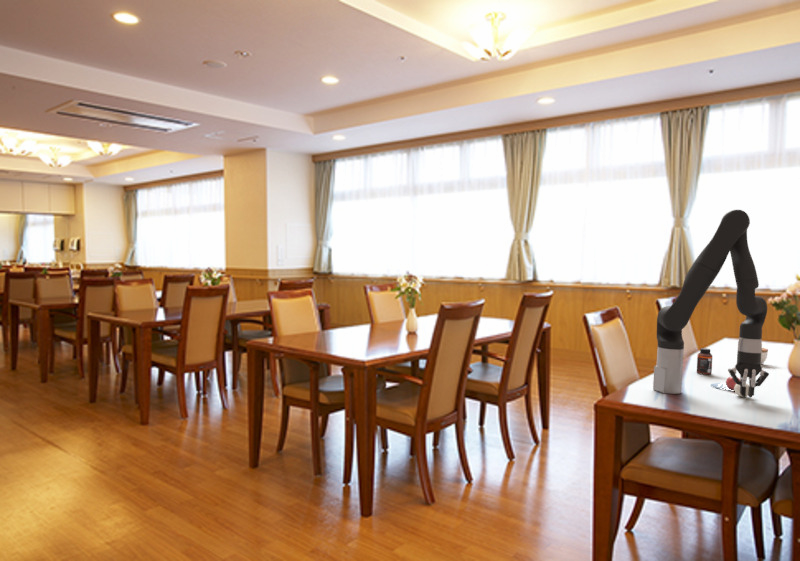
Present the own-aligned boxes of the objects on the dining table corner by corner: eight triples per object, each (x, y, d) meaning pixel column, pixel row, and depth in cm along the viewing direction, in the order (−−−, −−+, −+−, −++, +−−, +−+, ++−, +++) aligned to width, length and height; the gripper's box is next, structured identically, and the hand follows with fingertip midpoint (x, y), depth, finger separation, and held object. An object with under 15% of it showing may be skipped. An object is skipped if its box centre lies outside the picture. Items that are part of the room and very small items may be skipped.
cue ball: (738, 378, 215) (736, 390, 216) (732, 383, 211) (730, 396, 213) (754, 382, 211) (752, 395, 212) (748, 388, 207) (746, 401, 209)
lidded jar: (746, 360, 286) (747, 342, 285) (770, 364, 278) (771, 345, 277) (738, 362, 279) (739, 344, 278) (762, 366, 271) (763, 347, 270)
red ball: (733, 373, 220) (728, 373, 225) (725, 385, 220) (721, 384, 225) (746, 381, 218) (742, 381, 224) (738, 393, 218) (734, 392, 224)
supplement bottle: (713, 375, 248) (714, 350, 247) (698, 374, 249) (700, 349, 249) (708, 372, 254) (710, 348, 253) (694, 371, 255) (696, 347, 254)
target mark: (730, 392, 217) (730, 392, 217) (702, 384, 231) (702, 383, 231) (759, 391, 221) (759, 390, 221) (730, 382, 234) (730, 382, 234)
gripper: (766, 349, 207) (764, 395, 208) (725, 347, 211) (723, 392, 212) (774, 353, 200) (771, 400, 201) (731, 350, 204) (729, 397, 205)
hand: (746, 396), depth 207 cm, fingers closed
